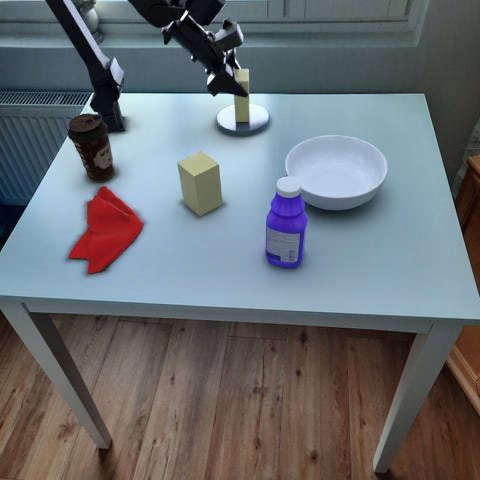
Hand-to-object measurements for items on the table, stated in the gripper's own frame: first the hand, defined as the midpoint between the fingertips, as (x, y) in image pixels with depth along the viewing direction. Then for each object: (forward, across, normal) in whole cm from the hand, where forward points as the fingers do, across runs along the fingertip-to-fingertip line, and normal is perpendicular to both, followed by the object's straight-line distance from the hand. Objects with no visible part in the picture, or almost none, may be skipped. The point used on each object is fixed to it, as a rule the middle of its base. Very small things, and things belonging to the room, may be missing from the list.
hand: (247, 89), depth 112 cm
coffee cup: (-18, -20, +30) cm, 40 cm away
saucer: (+5, 0, +7) cm, 8 cm away
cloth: (-14, -38, +26) cm, 48 cm away
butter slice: (+4, 0, +6) cm, 7 cm away
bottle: (+11, -48, +1) cm, 50 cm away
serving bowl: (+19, -28, -7) cm, 35 cm away
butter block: (-1, -31, +13) cm, 34 cm away
